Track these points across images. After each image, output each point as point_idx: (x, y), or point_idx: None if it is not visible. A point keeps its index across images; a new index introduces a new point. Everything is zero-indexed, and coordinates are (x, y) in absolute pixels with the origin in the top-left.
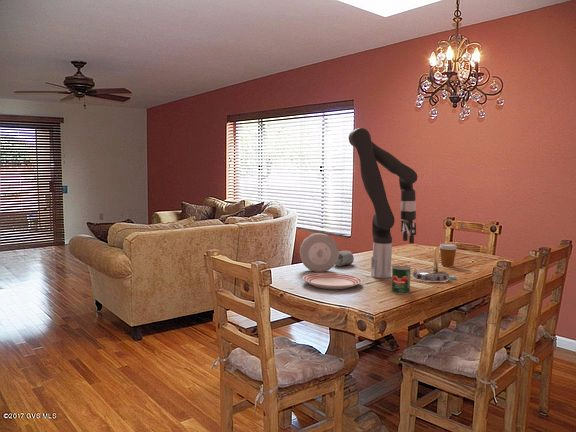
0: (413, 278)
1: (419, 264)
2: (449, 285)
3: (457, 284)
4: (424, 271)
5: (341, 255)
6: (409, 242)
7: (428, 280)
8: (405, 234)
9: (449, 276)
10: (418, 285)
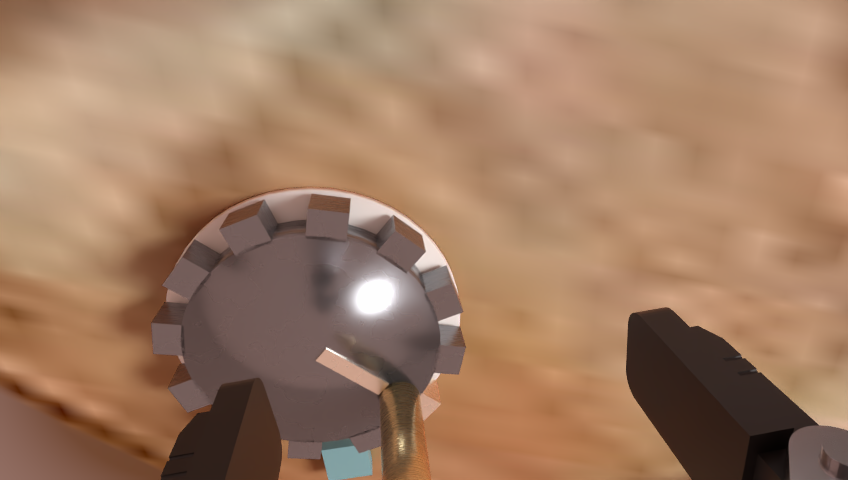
0: (296, 188)
1: (840, 339)
2: (116, 398)
3: (168, 447)
4: (374, 314)
5: None
6: (229, 388)
7: None
8: (725, 471)
9: (338, 447)
10: (18, 174)
